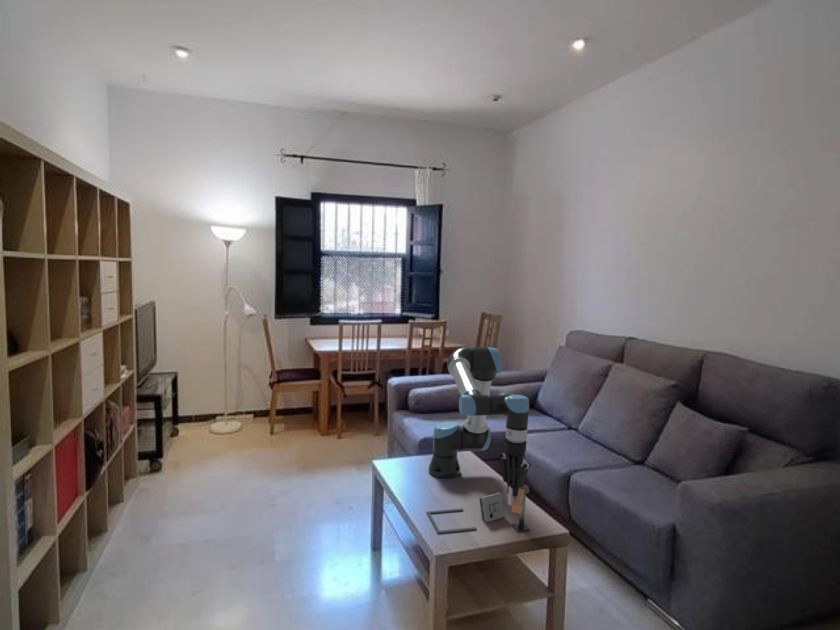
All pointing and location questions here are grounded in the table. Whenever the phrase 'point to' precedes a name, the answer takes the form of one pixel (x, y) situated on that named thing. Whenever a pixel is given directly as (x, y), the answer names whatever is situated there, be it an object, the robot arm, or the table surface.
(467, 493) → the table surface
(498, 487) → the table surface
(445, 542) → the table surface
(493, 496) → the electrical switch
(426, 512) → the bay
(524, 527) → the mast
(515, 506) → the lever
